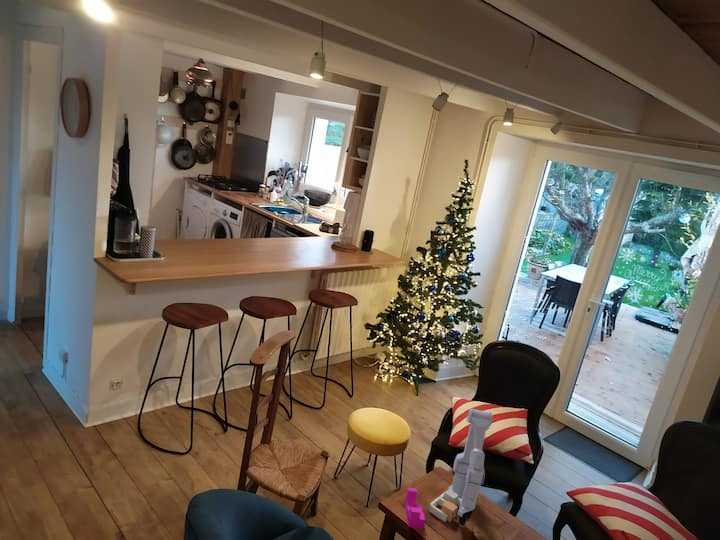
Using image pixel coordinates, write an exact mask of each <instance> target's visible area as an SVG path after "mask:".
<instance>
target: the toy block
mask: <svg viewBox="0 0 720 540" xmlns="http://www.w3.org/2000/svg"><path fill="white" fill-rule="evenodd" d="M417 495H418V489H417V488H415V487H414V488H412V487H407V491H406V496H405V499H404V507H405V513H406V520H407V526H408V527H409V528H413V529H414V528H416V529H422V530H423V529H424V526H425V522H426V517H425V512H423V506H422V504H419V503H417Z"/></svg>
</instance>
